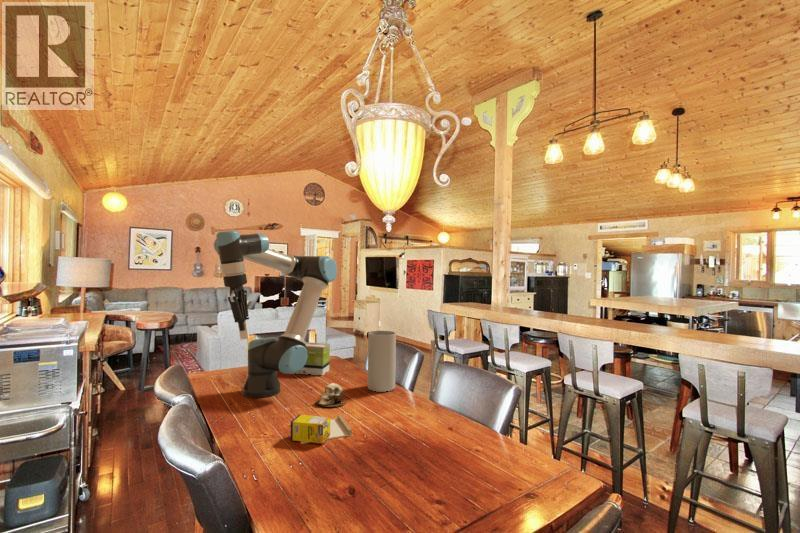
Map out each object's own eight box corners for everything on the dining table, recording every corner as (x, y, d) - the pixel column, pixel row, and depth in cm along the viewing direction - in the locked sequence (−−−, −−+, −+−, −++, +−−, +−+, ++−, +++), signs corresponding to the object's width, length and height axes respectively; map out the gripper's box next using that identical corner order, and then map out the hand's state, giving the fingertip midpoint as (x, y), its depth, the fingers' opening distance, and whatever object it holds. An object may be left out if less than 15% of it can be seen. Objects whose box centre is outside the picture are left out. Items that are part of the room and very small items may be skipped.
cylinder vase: (400, 387, 174) (401, 332, 174) (384, 394, 163) (385, 336, 163) (378, 382, 180) (379, 329, 180) (361, 389, 170) (362, 333, 170)
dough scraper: (301, 444, 116) (301, 438, 116) (294, 426, 129) (294, 421, 129) (351, 435, 123) (351, 429, 123) (340, 419, 136) (340, 414, 136)
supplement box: (290, 440, 118) (322, 444, 115) (290, 421, 118) (322, 424, 115) (299, 432, 124) (330, 435, 121) (299, 414, 124) (330, 417, 121)
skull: (329, 409, 143) (318, 384, 147) (317, 421, 148) (307, 397, 153) (353, 400, 152) (343, 377, 156) (342, 412, 157) (332, 390, 162)
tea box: (294, 374, 192) (295, 345, 192) (302, 369, 202) (303, 341, 202) (322, 376, 189) (323, 346, 189) (329, 371, 199) (330, 342, 199)
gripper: (230, 273, 141) (240, 334, 144) (216, 278, 128) (227, 345, 131) (250, 270, 141) (260, 332, 144) (238, 275, 128) (250, 342, 131)
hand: (245, 338), depth 137 cm, fingers closed
